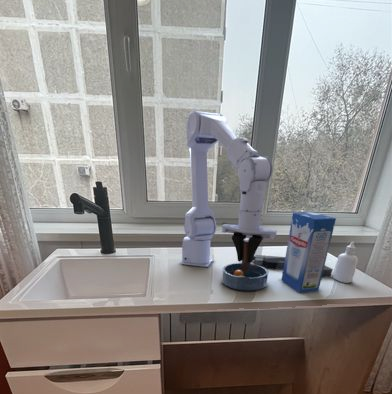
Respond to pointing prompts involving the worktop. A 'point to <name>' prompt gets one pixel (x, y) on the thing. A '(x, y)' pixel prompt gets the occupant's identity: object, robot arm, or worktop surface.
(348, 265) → the eye dropper bottle
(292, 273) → the milk carton
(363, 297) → the worktop surface
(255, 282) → the bowl
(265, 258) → the pistol
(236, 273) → the bead
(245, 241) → the stirring stick
